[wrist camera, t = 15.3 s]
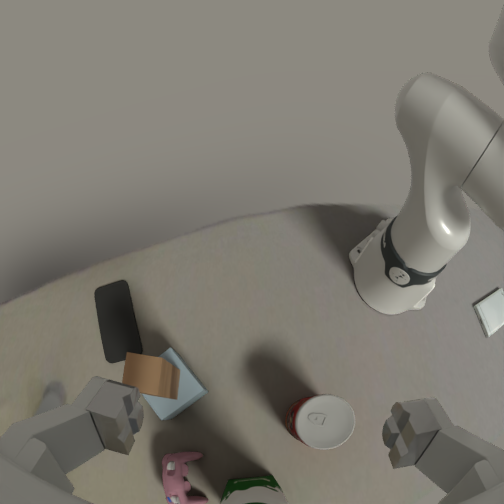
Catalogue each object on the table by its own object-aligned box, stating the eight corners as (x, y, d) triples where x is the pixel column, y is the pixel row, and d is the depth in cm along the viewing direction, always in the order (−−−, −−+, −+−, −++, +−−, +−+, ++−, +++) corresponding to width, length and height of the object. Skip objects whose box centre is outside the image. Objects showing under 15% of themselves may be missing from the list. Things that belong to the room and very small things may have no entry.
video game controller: (182, 448, 39) (153, 452, 34) (205, 450, 38) (176, 456, 32) (188, 499, 34) (160, 508, 29) (211, 503, 33) (184, 514, 27)
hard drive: (501, 287, 52) (475, 304, 50) (514, 315, 48) (489, 336, 46) (497, 289, 53) (471, 307, 51) (510, 318, 49) (484, 339, 47)
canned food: (287, 395, 43) (298, 392, 34) (335, 398, 43) (358, 394, 33) (281, 440, 39) (291, 449, 30) (330, 442, 39) (353, 449, 29)
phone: (106, 364, 44) (93, 289, 51) (108, 365, 45) (95, 291, 52) (143, 354, 46) (126, 278, 52) (145, 355, 46) (128, 280, 53)
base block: (179, 354, 46) (170, 347, 41) (208, 391, 44) (203, 389, 38) (143, 381, 44) (130, 376, 39) (171, 419, 41) (161, 420, 36)
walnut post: (180, 370, 40) (162, 357, 31) (177, 399, 37) (157, 395, 29) (151, 366, 40) (126, 352, 31) (147, 394, 37) (121, 388, 29)
